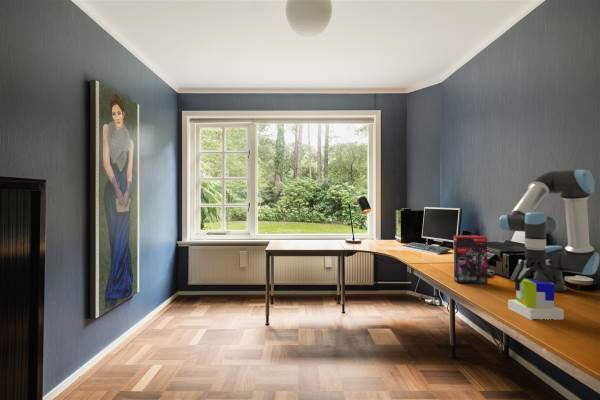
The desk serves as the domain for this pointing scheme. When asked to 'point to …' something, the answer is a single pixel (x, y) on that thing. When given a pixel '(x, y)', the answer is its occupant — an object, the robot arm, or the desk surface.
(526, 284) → the puzzle toy
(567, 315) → the desk surface
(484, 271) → the graphics card box
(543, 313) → the plinth
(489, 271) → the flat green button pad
